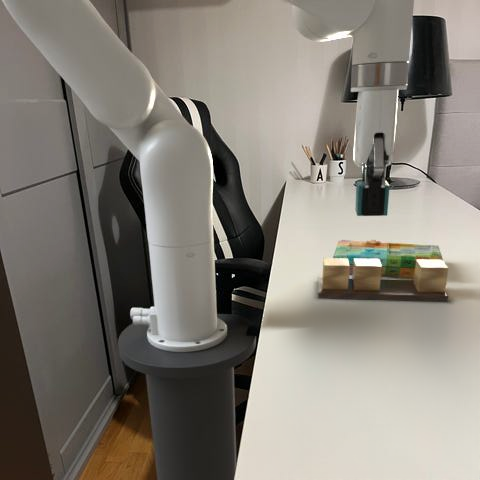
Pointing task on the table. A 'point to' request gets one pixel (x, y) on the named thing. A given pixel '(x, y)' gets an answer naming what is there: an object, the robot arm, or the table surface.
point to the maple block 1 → (335, 273)
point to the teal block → (359, 189)
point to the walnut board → (384, 292)
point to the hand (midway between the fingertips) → (370, 210)
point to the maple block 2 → (366, 274)
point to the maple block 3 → (430, 275)
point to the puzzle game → (388, 255)
